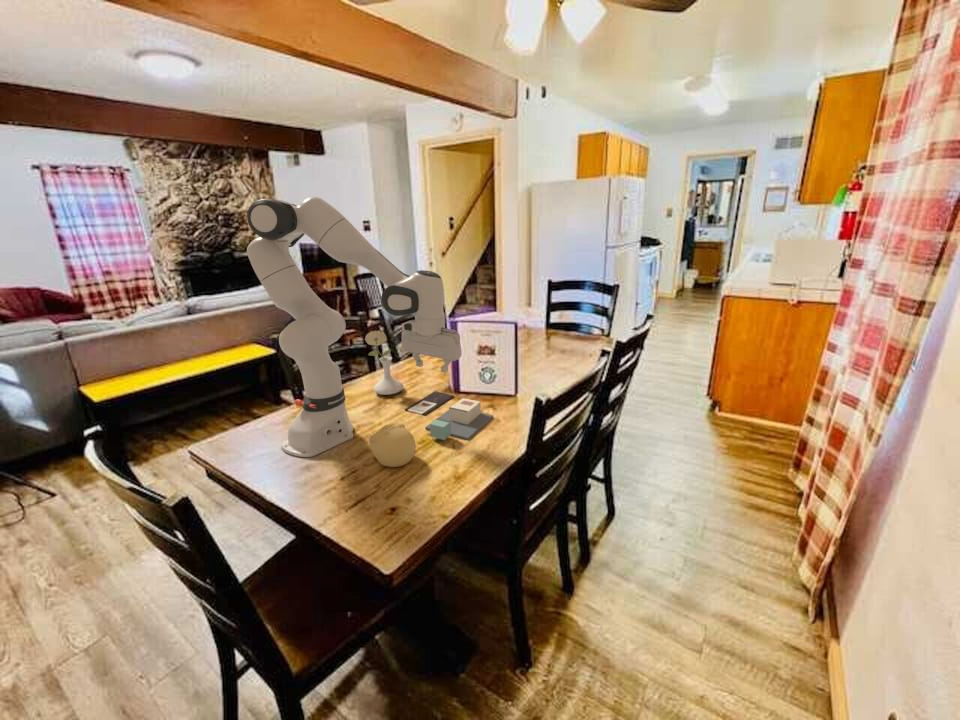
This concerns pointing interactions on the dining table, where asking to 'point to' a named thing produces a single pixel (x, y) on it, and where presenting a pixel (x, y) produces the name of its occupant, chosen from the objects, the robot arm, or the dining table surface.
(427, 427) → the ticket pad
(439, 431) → the stub
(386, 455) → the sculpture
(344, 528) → the dining table surface
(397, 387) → the flower in vase
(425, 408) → the chocolate bar
